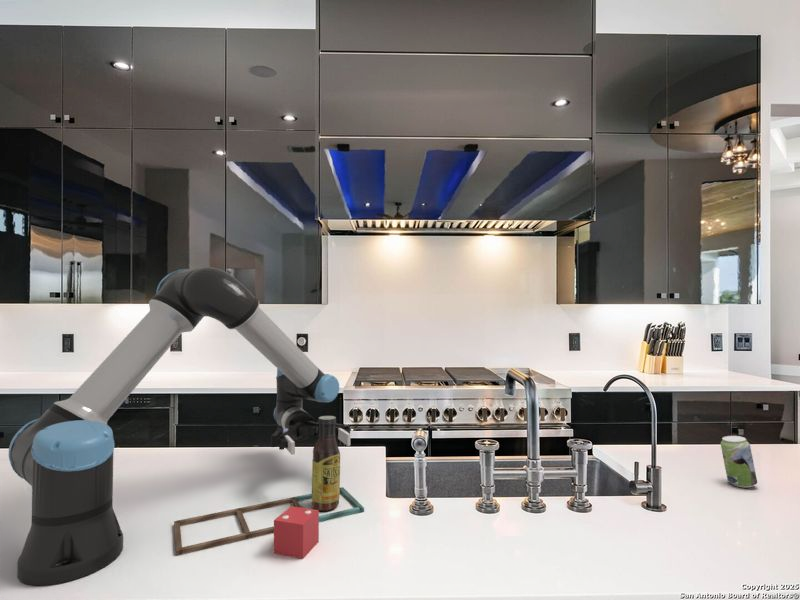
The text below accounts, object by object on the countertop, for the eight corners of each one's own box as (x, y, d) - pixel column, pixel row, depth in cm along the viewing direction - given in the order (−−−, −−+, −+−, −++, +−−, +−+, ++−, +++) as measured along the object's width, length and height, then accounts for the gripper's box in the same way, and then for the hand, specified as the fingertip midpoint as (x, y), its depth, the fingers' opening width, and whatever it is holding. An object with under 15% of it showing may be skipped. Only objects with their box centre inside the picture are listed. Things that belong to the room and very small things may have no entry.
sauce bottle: (324, 515, 96) (324, 422, 97) (305, 507, 100) (305, 418, 101) (346, 504, 101) (345, 416, 102) (327, 497, 105) (327, 413, 106)
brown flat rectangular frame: (176, 555, 80) (176, 551, 80) (174, 525, 92) (174, 521, 92) (364, 511, 98) (364, 507, 98) (342, 490, 109) (342, 487, 109)
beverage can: (763, 490, 109) (762, 441, 109) (733, 490, 109) (732, 440, 110) (744, 480, 115) (743, 433, 116) (715, 480, 116) (714, 433, 116)
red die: (273, 553, 81) (273, 519, 81) (290, 537, 87) (290, 505, 87) (303, 558, 79) (303, 523, 80) (318, 541, 85) (318, 509, 85)
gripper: (340, 431, 130) (370, 452, 111) (251, 443, 118) (267, 469, 99) (340, 405, 130) (370, 421, 111) (251, 415, 118) (267, 435, 99)
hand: (321, 444), depth 105 cm, fingers open, 13 cm apart
